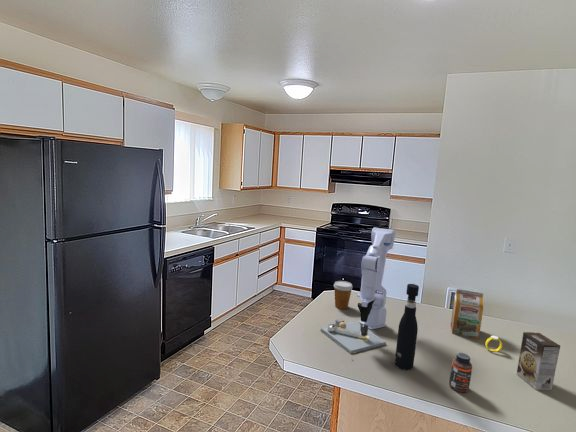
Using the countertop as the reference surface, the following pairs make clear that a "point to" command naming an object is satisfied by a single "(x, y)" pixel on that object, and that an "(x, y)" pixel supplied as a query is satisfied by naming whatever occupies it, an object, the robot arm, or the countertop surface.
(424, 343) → the countertop surface
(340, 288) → the disposable coffee cup
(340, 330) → the lever
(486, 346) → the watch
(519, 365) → the brown food box
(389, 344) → the countertop surface
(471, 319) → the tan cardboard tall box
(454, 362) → the supplement bottle
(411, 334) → the black water bottle
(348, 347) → the base
